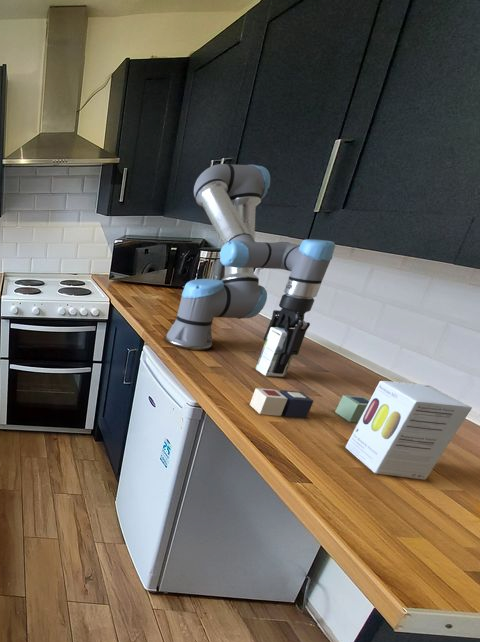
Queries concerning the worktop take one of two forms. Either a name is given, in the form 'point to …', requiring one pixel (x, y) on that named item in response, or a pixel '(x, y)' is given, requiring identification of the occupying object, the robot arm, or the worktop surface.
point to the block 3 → (352, 407)
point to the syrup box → (272, 352)
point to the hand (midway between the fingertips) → (271, 368)
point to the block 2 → (296, 404)
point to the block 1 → (268, 401)
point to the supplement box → (406, 429)
